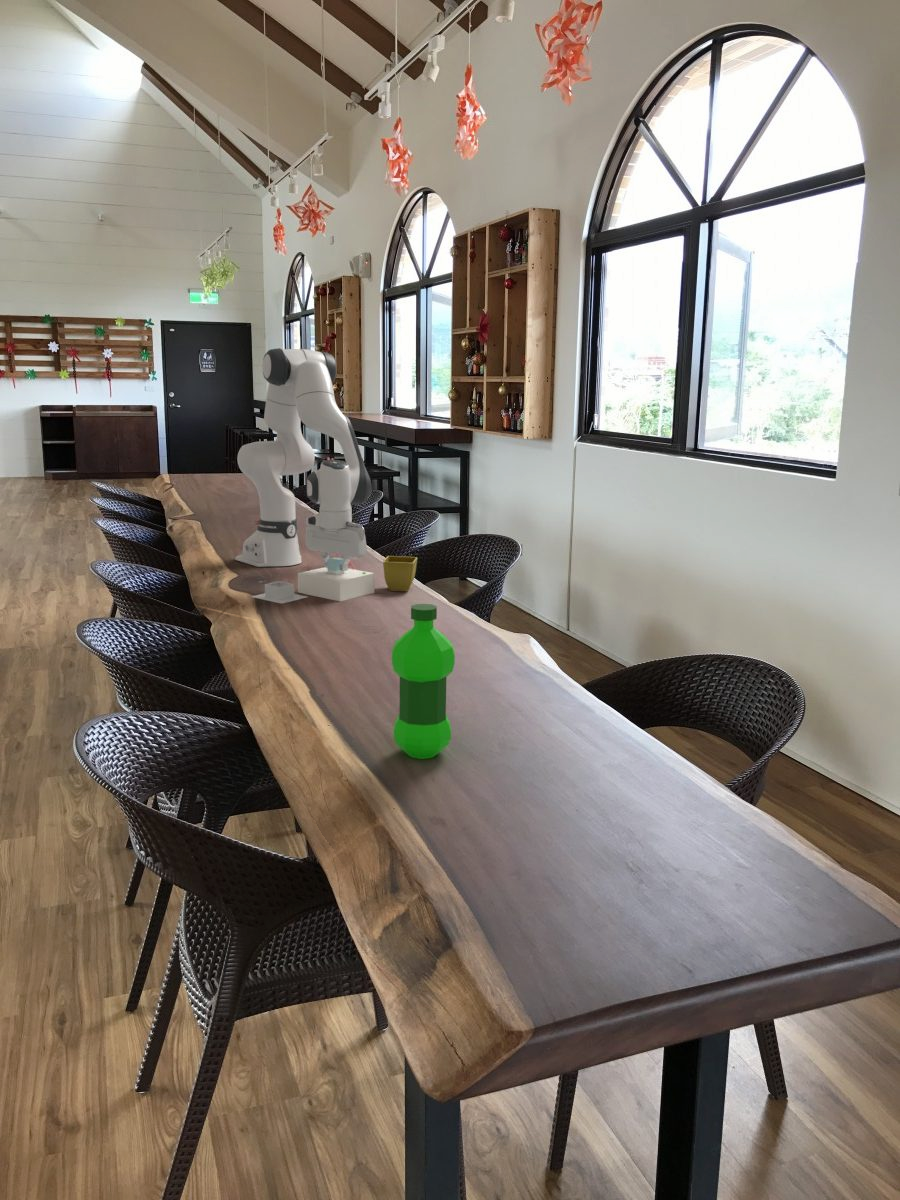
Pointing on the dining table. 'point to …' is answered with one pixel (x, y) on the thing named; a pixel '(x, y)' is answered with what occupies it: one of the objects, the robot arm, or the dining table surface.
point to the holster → (279, 593)
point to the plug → (334, 566)
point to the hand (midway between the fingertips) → (336, 569)
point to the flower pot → (399, 572)
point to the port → (336, 584)
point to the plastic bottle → (422, 685)
